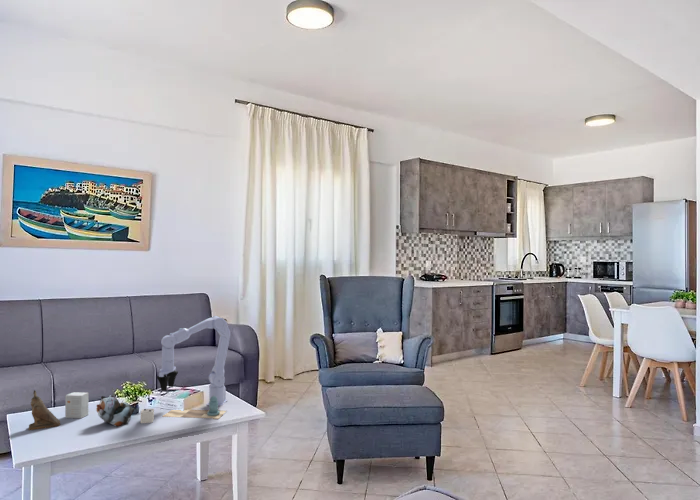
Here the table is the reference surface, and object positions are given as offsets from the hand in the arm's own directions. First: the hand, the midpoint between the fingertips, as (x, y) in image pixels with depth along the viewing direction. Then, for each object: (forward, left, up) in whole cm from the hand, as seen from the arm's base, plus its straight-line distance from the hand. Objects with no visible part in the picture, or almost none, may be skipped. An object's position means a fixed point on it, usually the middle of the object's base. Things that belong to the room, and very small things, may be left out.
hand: (167, 388), depth 245 cm
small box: (+14, -37, -11) cm, 41 cm away
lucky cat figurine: (+21, -14, -11) cm, 28 cm away
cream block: (+18, -1, -10) cm, 21 cm away
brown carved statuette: (+29, -42, -11) cm, 52 cm away
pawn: (+5, +25, -10) cm, 27 cm away
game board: (+5, +16, -10) cm, 20 cm away
